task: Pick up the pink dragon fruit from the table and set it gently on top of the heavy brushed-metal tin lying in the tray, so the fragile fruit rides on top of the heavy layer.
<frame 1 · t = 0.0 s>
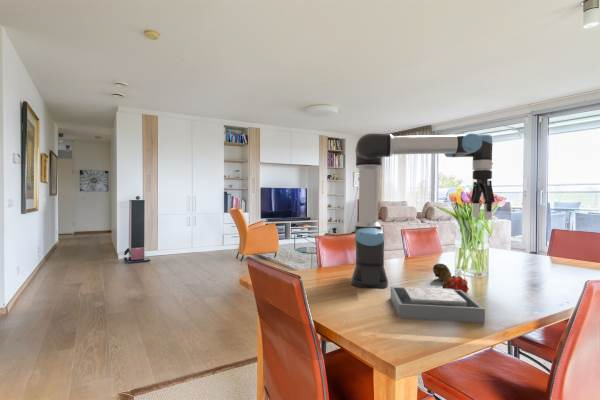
hand: (481, 218, 149), 28 cm above the table, tool pointing down, fingers open, 13 cm apart
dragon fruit: (455, 296, 127), on the table
avocado: (442, 280, 151), on the table
tray: (432, 312, 109), on the table
metal tin: (432, 309, 109), point 1 cm above the table, touching tray
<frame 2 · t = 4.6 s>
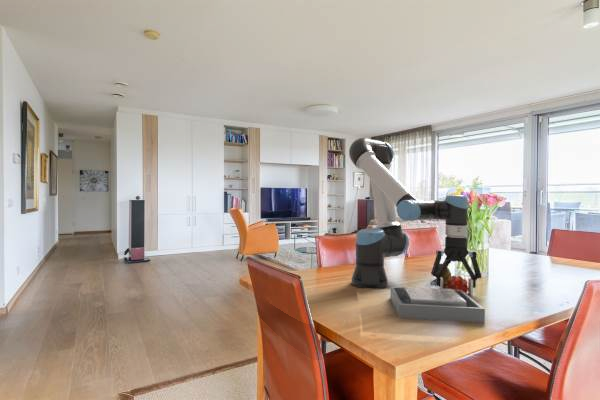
hand: (455, 295, 127), 0 cm above the table, tool pointing down, fingers closed on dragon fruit, 10 cm apart
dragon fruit: (455, 296, 127), on the table, touching gripper
everything else where it was.
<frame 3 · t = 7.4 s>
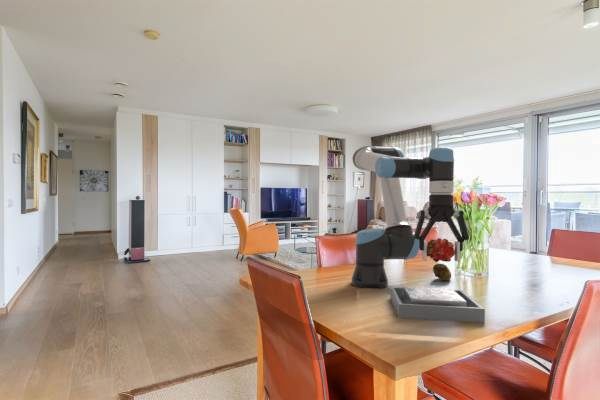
hand: (440, 260, 113), 16 cm above the table, tool pointing down, fingers closed on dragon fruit, 10 cm apart
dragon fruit: (441, 261, 113), point 15 cm above the table, touching gripper
everything else where it was.
when the fingers open (7 cm above the table, at t = 10.4 s): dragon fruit stays where it is, resting on metal tin.
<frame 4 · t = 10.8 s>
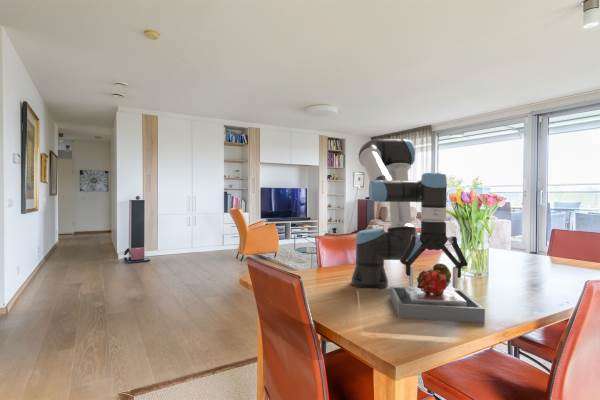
hand: (432, 286, 109), 8 cm above the table, tool pointing down, fingers open, 13 cm apart
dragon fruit: (432, 294, 109), point 6 cm above the table, touching metal tin
metal tin: (432, 309, 109), point 1 cm above the table, touching tray, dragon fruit
everything else where it was.
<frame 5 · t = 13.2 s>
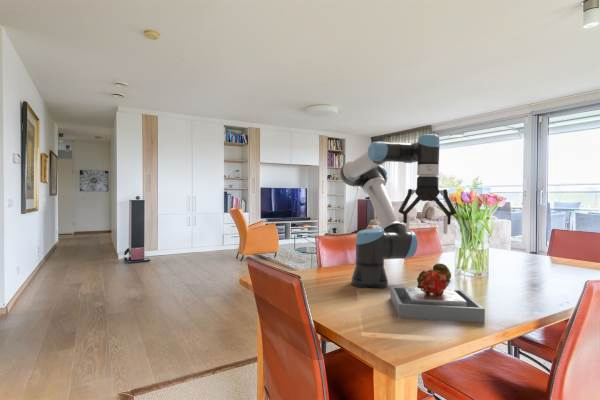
hand: (426, 232, 127), 24 cm above the table, tool pointing down, fingers open, 13 cm apart
nothing on the table moved.
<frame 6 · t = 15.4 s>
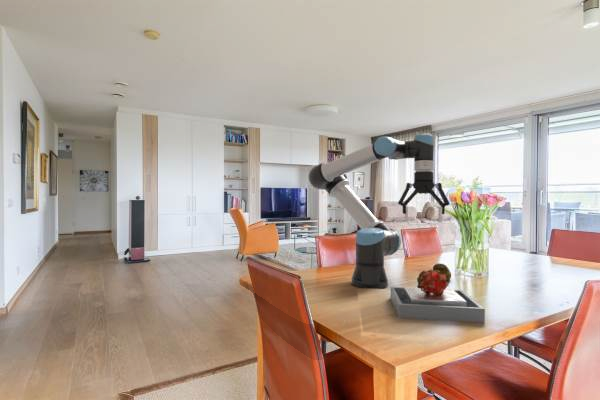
hand: (423, 222, 142), 27 cm above the table, tool pointing down, fingers open, 13 cm apart
nothing on the table moved.
at the end: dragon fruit inside the target area on the tray (0.1 cm from its centre), point 5.8 cm above the tray's base; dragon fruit touching metal tin; the gripper is holding nothing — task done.
